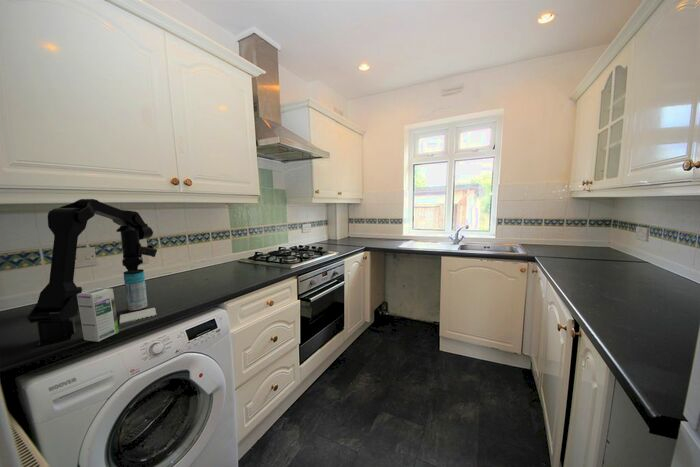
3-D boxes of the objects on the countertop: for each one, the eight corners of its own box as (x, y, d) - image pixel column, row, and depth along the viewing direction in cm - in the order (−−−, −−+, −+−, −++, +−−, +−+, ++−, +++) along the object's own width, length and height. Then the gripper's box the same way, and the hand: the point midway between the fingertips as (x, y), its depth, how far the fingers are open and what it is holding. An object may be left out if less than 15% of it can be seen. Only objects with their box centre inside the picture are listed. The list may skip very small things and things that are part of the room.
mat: (119, 323, 87) (119, 322, 87) (120, 316, 93) (120, 315, 93) (156, 315, 93) (156, 314, 93) (154, 308, 99) (154, 307, 99)
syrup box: (98, 342, 75) (92, 294, 74) (82, 340, 77) (76, 293, 75) (119, 332, 81) (113, 287, 79) (104, 331, 82) (98, 286, 80)
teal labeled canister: (146, 305, 103) (142, 268, 101) (149, 309, 99) (144, 271, 97) (126, 309, 99) (122, 271, 97) (128, 314, 95) (124, 274, 93)
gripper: (156, 241, 106) (160, 278, 108) (153, 237, 120) (156, 270, 122) (120, 244, 99) (124, 284, 101) (121, 240, 113) (125, 274, 115)
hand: (134, 277), depth 110 cm, fingers closed
